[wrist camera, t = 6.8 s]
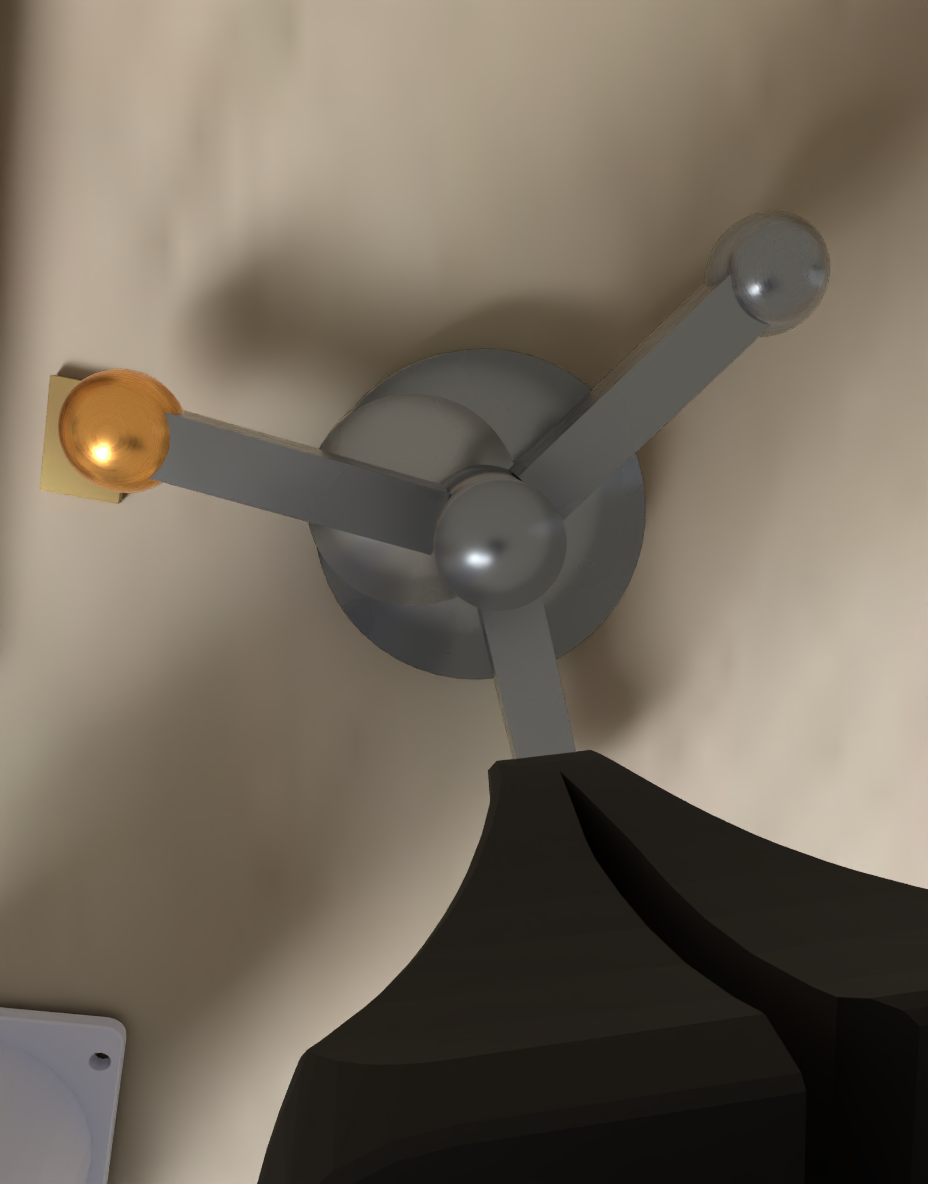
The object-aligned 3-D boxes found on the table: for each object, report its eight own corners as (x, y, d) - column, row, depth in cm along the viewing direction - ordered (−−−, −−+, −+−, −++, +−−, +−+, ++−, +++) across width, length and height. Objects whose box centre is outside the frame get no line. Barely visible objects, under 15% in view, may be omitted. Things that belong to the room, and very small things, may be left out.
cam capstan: (770, 253, 19) (876, 223, 15) (566, 832, 22) (610, 934, 18) (184, 46, 17) (128, -53, 13) (45, 715, 20) (-36, 802, 16)
